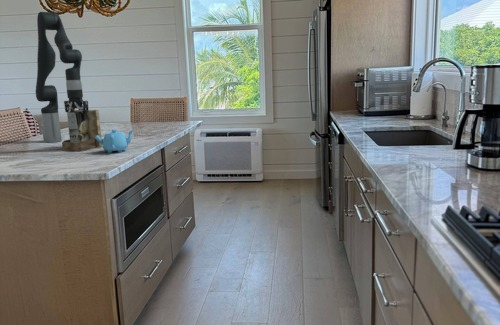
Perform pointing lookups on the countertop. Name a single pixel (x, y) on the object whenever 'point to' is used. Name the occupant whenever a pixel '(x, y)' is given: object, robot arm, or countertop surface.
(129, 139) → the teapot
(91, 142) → the brown open box
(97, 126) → the wall board
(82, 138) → the coffee box
